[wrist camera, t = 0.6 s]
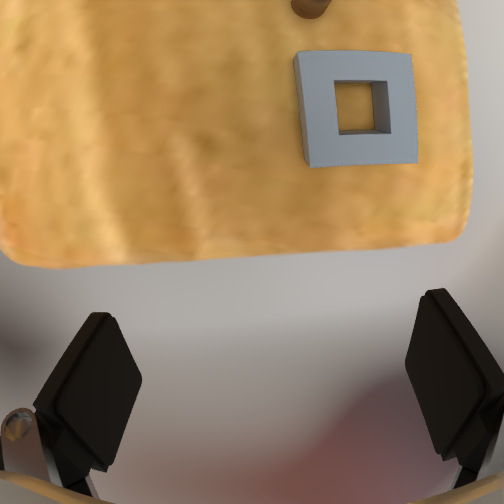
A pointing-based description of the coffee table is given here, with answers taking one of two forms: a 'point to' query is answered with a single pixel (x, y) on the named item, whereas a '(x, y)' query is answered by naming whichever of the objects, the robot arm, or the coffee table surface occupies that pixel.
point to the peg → (309, 8)
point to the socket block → (384, 107)
